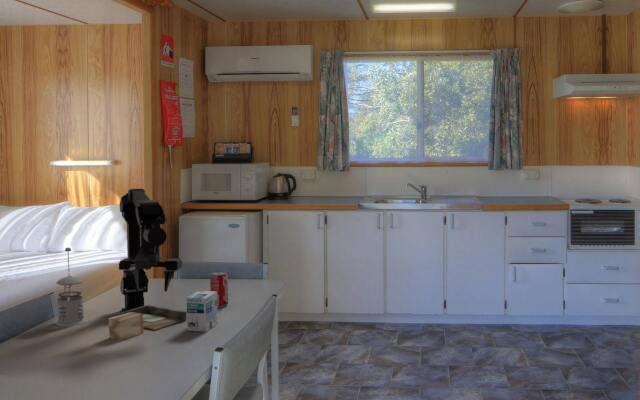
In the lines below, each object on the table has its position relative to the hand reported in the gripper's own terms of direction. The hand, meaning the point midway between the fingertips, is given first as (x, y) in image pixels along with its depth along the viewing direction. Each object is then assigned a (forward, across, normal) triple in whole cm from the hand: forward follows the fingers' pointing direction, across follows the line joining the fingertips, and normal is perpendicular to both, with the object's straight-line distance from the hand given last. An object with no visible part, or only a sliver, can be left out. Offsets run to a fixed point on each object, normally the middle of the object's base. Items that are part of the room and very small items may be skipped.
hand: (151, 291), depth 214 cm
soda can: (+12, +14, +32) cm, 37 cm away
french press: (+12, -30, +8) cm, 34 cm away
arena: (+12, -4, +10) cm, 16 cm away
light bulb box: (+13, +15, +4) cm, 20 cm away
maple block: (+12, -6, -6) cm, 15 cm away
